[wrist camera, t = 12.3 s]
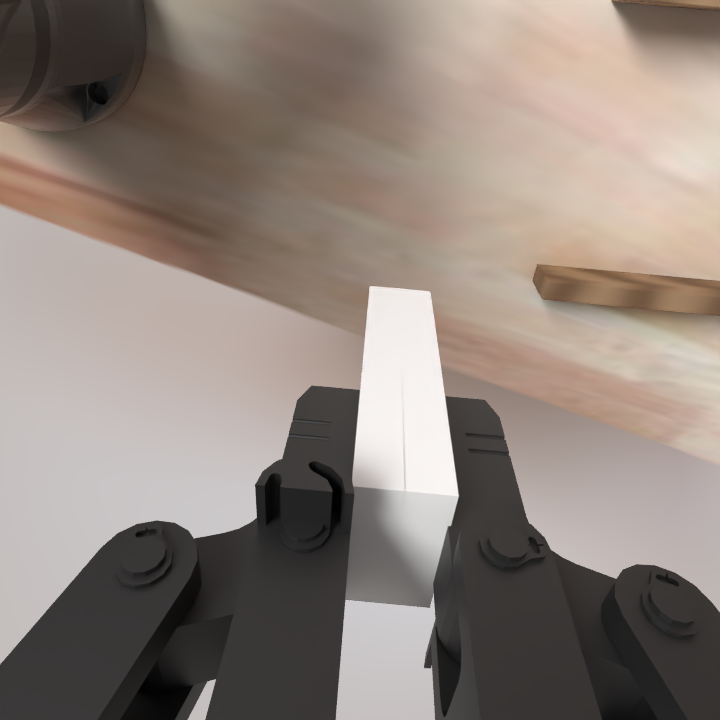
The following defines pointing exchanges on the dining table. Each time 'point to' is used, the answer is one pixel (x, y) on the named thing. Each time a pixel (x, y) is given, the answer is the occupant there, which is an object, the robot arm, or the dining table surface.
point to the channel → (631, 285)
